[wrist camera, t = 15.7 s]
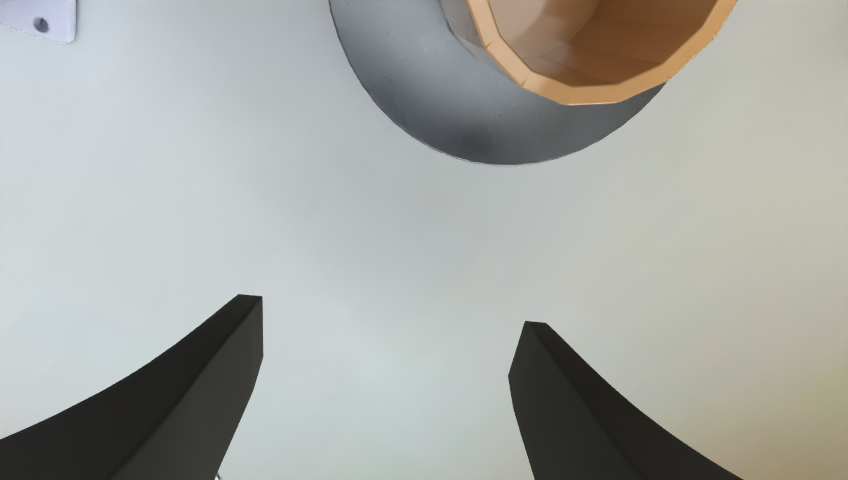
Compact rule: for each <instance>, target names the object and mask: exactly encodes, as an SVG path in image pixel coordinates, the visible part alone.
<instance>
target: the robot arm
mask: <svg viewBox="0 0 848 480" xmlns="http://www.w3.org/2000/svg"><path fill="white" fill-rule="evenodd" d="M41 18H43V19H44V20H45V21H46V22H47V23H48V27H49V28H48V31H46V30H45V29H44V28H43V27H42V26H41V22H40V21H41ZM0 24H1V25H4V26H7V27H10V28H13V29H16V30H19V31H22V32H25V33H28V34H31V35H34V36H37V37H40V38H43V39H46V40H49V41H52V42H55V43H59V44H65V43H70V42H72V41H73V40H74V38H75V33H76V0H0ZM262 359H263V307H262V296H252V295H242V294H238V295H237V296H236V297H234V298H233V299H232V300H230V301H229V302H228V303H227V304H225V305H224V306H223V307H222V308H221V309H219V310H218V311H217V312H216V313H215V314H213V315H212V316H211V317H210V318H208V319H207V320H206V321H205V322H203V323H202V324H201V325H200V326H198V327H197V328H196V329H194V330H193V331H192V332H191V333H189V334H188V335H187V336H185V337H184V338H183V339H182V340H180V341H179V342H178V343H176V344H175V345H173V346H172V347H171V348H169V349H168V350H166V351H165V352H164V353H162V354H161V355H159V356H158V357H156V358H155V359H154V360H152V361H151V362H149V363H148V364H146V365H145V366H143V367H142V368H140V369H138V370H137V371H135V372H134V373H132V374H130V375H129V376H127V377H125V378H124V379H122V380H120V381H119V382H117V383H115V384H113V385H112V386H110V387H108V388H107V389H105V390H103V391H101V392H99V393H97V394H95V395H93V396H92V397H90V398H88V399H86V400H84V401H82V402H80V403H78V404H76V405H74V406H72V407H70V408H68V409H66V410H64V411H62V412H60V413H58V414H56V415H54V416H52V417H50V418H48V419H46V420H44V421H41V422H39V423H37V424H35V425H33V426H30V427H28V428H26V429H24V430H21V431H19V432H17V433H14V434H12V435H10V436H7V437H5V438H3V439H0V480H215V477H216V475H217V472H218V470H219V467H220V465H221V463H222V461H223V458H224V456H225V454H226V451H227V449H228V447H229V445H230V442H231V440H232V438H233V436H234V433H235V431H236V429H237V427H238V424H239V422H240V420H241V417H242V415H243V413H244V411H245V408H246V406H247V404H248V401H249V399H250V397H251V394H252V392H253V389H254V386H255V383H256V379H257V376H258V373H259V369H260V366H261V362H262ZM508 378H509V384H510V391H511V397H512V403H513V408H514V412H515V416H516V419H517V423H518V426H519V429H520V433H521V436H522V439H523V443H524V446H525V449H526V452H527V456H528V459H529V462H530V465H531V469H532V472H533V475H534V478H535V480H743V479H741V478H739V477H738V476H736V475H734V474H732V473H731V472H729V471H727V470H725V469H724V468H722V467H721V466H719V465H717V464H716V463H714V462H712V461H711V460H709V459H708V458H706V457H704V456H703V455H701V454H700V453H698V452H697V451H695V450H694V449H692V448H691V447H689V446H688V445H686V444H685V443H683V442H682V441H680V440H679V439H678V438H676V437H675V436H673V435H672V434H670V433H669V432H668V431H666V430H665V429H664V428H662V427H661V426H660V425H658V424H657V423H656V422H654V421H653V420H652V419H650V418H649V417H648V416H647V415H645V414H644V413H643V412H641V411H640V410H639V409H638V408H636V407H635V406H634V405H633V404H631V403H630V402H629V401H628V400H627V399H626V398H625V397H623V396H622V395H621V394H620V393H619V392H618V391H616V390H615V389H614V388H613V387H612V386H611V385H610V384H609V383H608V382H606V381H605V380H604V379H603V378H602V377H601V376H600V375H599V374H598V373H597V372H596V371H595V370H594V369H593V368H592V367H591V366H589V365H588V364H587V363H586V362H585V361H584V360H583V359H582V358H581V357H580V356H579V355H578V354H577V353H576V352H575V351H574V350H573V349H572V348H571V347H570V346H569V345H568V344H567V343H566V342H565V341H564V340H563V339H562V338H561V337H560V336H559V335H558V334H557V333H556V332H555V331H554V330H553V329H552V328H551V327H550V326H549V325H548V324H547V323H541V322H530V321H525V323H524V326H523V330H522V333H521V336H520V339H519V342H518V346H517V349H516V352H515V355H514V359H513V362H512V365H511V368H510V372H509V375H508Z"/></svg>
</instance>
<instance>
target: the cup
mask: <svg viewBox="0 0 848 480" xmlns="http://www.w3.org/2000/svg"><path fill="white" fill-rule="evenodd" d="M440 2H441V6H442V9H443V12H444V15H445V17H446V19H447V22H448V24H449V26H450V28H451V30H452V32H453V33H454V35H455V36H456V37H457V38H458V39H459V40H460V42H461V43H462V44H463V45H464V46H465V47H466V48H467V49H468V50H469V51H470V52H471V53H472V54H473V55H474V56H475V57H476V58H478V59H479V60H480V61H482V62H483V63H485V64H486V65H488V66H489V67H491V68H492V69H494V70H495V71H497V72H498V73H500V74H501V75H503V76H504V77H506V78H507V79H509V80H510V81H512V82H513V83H515V84H516V85H518V86H519V87H521V88H523V89H525V90H528V91H530V92H533V93H535V94H538V95H540V96H543V97H545V98H548V99H550V100H553V101H556V102H558V103H561V104H563V105H568V106H572V105H592V104H612V103H617V102H621V101H624V100H626V99H628V98H630V97H632V96H635V95H637V94H639V93H641V92H644V91H646V90H648V89H650V88H652V87H655V86H657V85H659V84H661V83H663V82H666V81H667V80H668V79H670V78H672V77H673V76H674V75H675V74H676V73H677V72H678V71H679V70H681V69H682V68H683V67H684V66H685V65H686V64H687V63H688V62H689V61H690V60H691V59H693V58H694V57H695V56H696V55H697V54H698V53H699V52H700V51H701V50H702V49H703V48H705V47H706V46H707V45H708V44H709V43H710V42H711V41H712V40H713V39H714V37H715V36H716V35H717V34H718V32H719V31H720V29H721V27H722V26H723V24H724V22H725V21H726V19H727V17H728V16H729V14H730V12H731V11H732V9H733V7H734V6H735V4H736V2H737V0H440Z"/></svg>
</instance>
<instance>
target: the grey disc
mask: <svg viewBox="0 0 848 480" xmlns="http://www.w3.org/2000/svg"><path fill="white" fill-rule="evenodd" d="M329 6H330V11H331V15H332V18H333V21H334V25H335V28H336V31H337V35H338V38H339V41H340V43H341V45H342V47H343V50H344V52H345V54H346V57H347V59H348V61H349V64H350V65H351V67H352V69H353V71H354V72H355V74H356V76H357V77H358V79H359V81H360V82H361V84H362V86H363V87H364V89H365V90H366V91H367V93H368V94H369V95H370V97H371V98H372V99H373V100H374V102H375V103H376V104H377V106H378V107H379V108H380V109H381V110H382V111H383V112H384V113H385V114H386V115H387V116H388V117H389V118H390V119H391V120H392V121H393V122H394V123H395V124H396V125H398V126H399V127H400V128H401V129H403V130H404V131H405V132H407V133H408V134H409V135H410V136H412V137H413V138H415V139H416V140H418V141H420V142H422V143H423V144H425V145H427V146H428V147H430V148H432V149H434V150H436V151H439V152H441V153H443V154H446V155H448V156H450V157H453V158H457V159H460V160H464V161H468V162H471V163H477V164H484V165H492V166H520V165H529V164H537V163H541V162H546V161H550V160H554V159H558V158H561V157H564V156H566V155H569V154H572V153H574V152H577V151H580V150H582V149H584V148H586V147H588V146H590V145H592V144H593V143H595V142H597V141H599V140H601V139H603V138H604V137H606V136H607V135H609V134H610V133H612V132H613V131H615V130H616V129H618V128H619V127H621V126H622V125H624V124H625V123H626V122H627V121H628V120H630V119H631V118H632V117H633V116H634V115H636V114H637V113H638V112H639V111H640V110H642V108H643V107H644V106H645V105H646V104H647V103H648V102H649V101H650V100H651V99H652V98H653V97H654V96H655V95H656V94H657V93H658V92H659V91H660V90H661V89H662V87H663V86H664V85H665V84H666V82H667V81H668V80H669V79H668V80H667V81H666V82H663V83H661V84H659V85H657V86H655V87H652V88H650V89H648V90H646V91H644V92H641V93H639V94H637V95H635V96H632V97H630V98H628V99H626V100H624V101H621V102H617V103H612V104H592V105H572V106H568V105H563V104H561V103H558V102H556V101H553V100H550V99H548V98H545V97H543V96H540V95H538V94H535V93H533V92H530V91H528V90H525V89H523V88H521V87H519V86H518V85H516V84H515V83H513V82H512V81H510V80H509V79H507V78H506V77H504V76H503V75H501V74H500V73H498V72H497V71H495V70H494V69H492V68H491V67H489V66H488V65H486V64H485V63H483V62H482V61H480V60H479V59H478V58H476V57H475V56H474V55H473V54H472V53H471V52H470V51H469V50H468V49H467V48H466V47H465V46H464V45H463V44H462V43H461V42H460V40H459V39H458V38H457V37H456V36H455V35H454V33H453V32H452V30H451V28H450V26H449V24H448V22H447V19H446V17H445V15H444V12H443V9H442V6H441V2H440V0H329Z"/></svg>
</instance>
